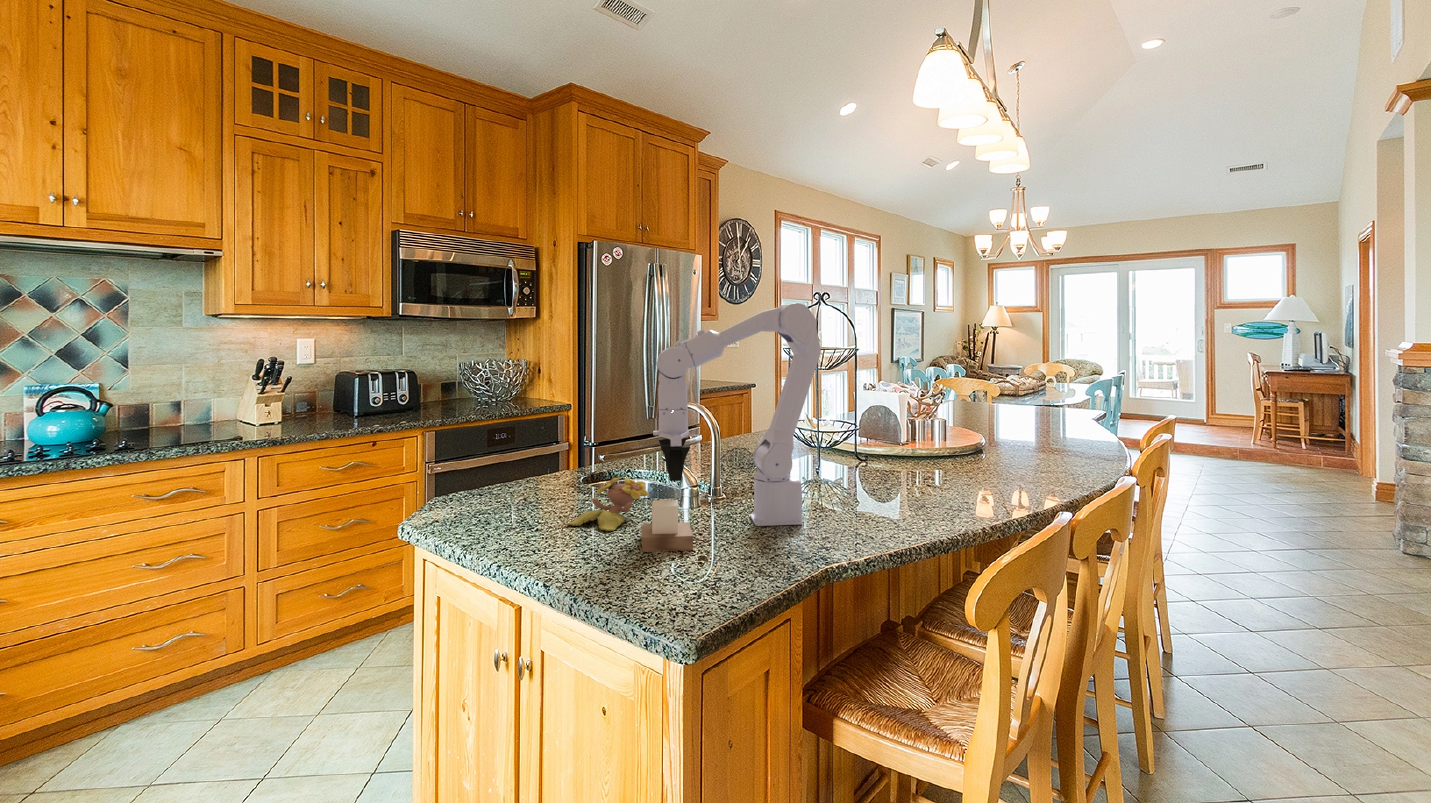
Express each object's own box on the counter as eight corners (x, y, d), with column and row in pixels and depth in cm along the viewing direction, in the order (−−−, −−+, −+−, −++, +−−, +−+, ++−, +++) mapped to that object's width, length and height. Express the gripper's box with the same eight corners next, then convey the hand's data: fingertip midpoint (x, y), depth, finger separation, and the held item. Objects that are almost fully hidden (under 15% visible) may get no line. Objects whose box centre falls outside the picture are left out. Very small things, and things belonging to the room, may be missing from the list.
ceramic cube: (678, 526, 128) (677, 499, 127) (678, 533, 123) (677, 506, 123) (653, 526, 128) (652, 500, 127) (652, 533, 123) (651, 506, 122)
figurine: (560, 523, 137) (590, 460, 145) (583, 544, 144) (610, 483, 152) (612, 531, 132) (640, 465, 140) (632, 553, 139) (658, 489, 146)
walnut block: (689, 537, 131) (688, 522, 131) (693, 552, 122) (692, 535, 122) (641, 539, 130) (641, 523, 130) (642, 554, 121) (641, 537, 121)
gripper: (651, 405, 142) (652, 470, 143) (654, 413, 128) (655, 485, 129) (685, 404, 143) (686, 468, 144) (692, 412, 128) (692, 483, 130)
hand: (674, 476), depth 137 cm, fingers open, 7 cm apart
